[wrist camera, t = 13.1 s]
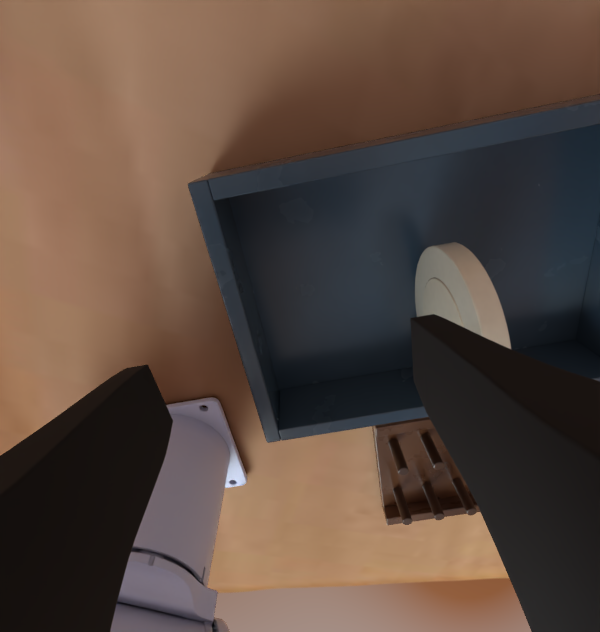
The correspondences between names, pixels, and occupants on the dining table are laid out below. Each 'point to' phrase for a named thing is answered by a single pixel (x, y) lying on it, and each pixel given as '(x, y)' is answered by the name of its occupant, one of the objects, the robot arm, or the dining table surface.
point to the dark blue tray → (403, 257)
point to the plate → (459, 291)
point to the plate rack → (418, 474)
